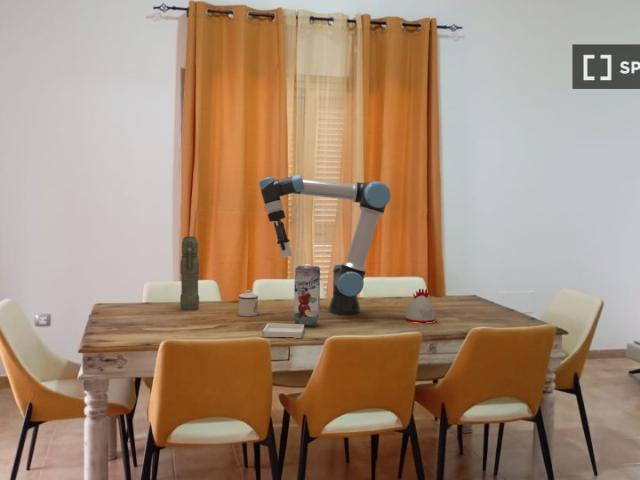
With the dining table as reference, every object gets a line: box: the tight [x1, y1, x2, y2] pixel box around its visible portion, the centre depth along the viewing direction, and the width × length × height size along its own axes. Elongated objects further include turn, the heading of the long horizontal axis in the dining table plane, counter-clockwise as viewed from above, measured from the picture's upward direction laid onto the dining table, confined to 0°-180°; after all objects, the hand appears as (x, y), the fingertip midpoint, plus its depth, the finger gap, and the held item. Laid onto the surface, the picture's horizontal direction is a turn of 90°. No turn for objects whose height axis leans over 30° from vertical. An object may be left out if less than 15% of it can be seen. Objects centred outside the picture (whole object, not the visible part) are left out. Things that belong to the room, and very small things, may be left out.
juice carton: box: [293, 263, 321, 328], centre depth 268 cm, size 9×10×27 cm
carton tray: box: [262, 322, 305, 338], centre depth 252 cm, size 16×15×2 cm
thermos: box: [179, 236, 200, 311], centre depth 297 cm, size 9×12×35 cm
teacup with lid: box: [238, 289, 259, 318], centre depth 289 cm, size 12×9×12 cm
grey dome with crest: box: [404, 288, 437, 323], centre depth 282 cm, size 14×14×15 cm
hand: (287, 257), depth 278 cm, fingers open, 13 cm apart
